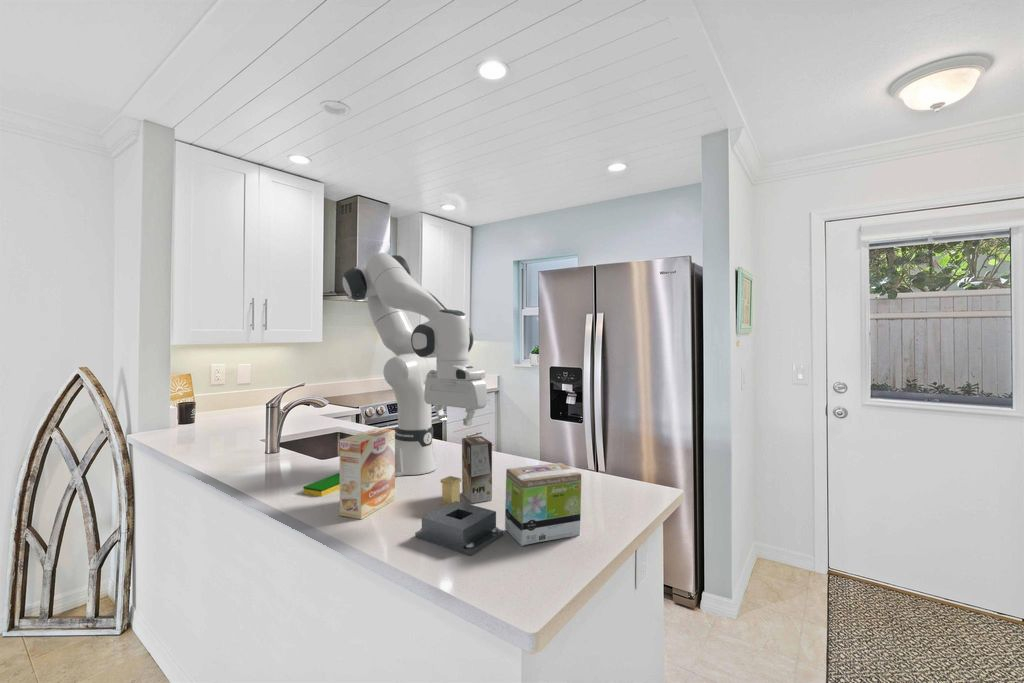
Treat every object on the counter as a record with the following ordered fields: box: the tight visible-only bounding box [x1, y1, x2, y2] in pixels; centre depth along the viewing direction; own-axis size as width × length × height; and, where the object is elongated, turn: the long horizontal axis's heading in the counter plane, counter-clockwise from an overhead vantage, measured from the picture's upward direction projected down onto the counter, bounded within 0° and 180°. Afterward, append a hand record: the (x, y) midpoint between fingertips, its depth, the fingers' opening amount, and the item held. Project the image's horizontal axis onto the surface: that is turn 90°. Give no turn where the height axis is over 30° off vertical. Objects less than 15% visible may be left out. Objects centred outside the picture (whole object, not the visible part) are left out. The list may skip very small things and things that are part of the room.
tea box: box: [504, 462, 582, 547], centre depth 109 cm, size 15×10×15 cm, turn 114°
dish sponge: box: [302, 472, 340, 497], centre depth 140 cm, size 7×14×2 cm, turn 156°
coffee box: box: [461, 435, 493, 504], centre depth 132 cm, size 9×6×16 cm
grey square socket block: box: [414, 501, 504, 556], centre depth 108 cm, size 16×12×5 cm
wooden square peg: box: [440, 475, 462, 508], centre depth 123 cm, size 4×4×8 cm
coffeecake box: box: [339, 427, 396, 520], centre depth 124 cm, size 15×7×20 cm, turn 160°
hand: (454, 423), depth 124 cm, fingers open, 8 cm apart
